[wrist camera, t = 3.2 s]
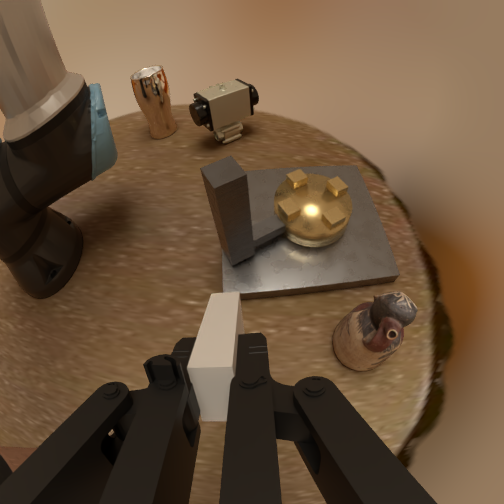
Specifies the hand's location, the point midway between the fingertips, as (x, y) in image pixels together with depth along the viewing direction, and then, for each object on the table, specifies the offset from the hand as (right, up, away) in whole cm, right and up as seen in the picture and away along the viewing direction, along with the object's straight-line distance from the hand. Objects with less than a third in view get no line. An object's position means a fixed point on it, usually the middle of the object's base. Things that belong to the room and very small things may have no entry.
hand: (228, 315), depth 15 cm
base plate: (+8, +7, +24) cm, 26 cm away
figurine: (+14, -7, +15) cm, 22 cm away
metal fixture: (+6, +7, +21) cm, 23 cm away
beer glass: (-18, +29, +39) cm, 52 cm away
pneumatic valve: (-3, +26, +36) cm, 44 cm away
